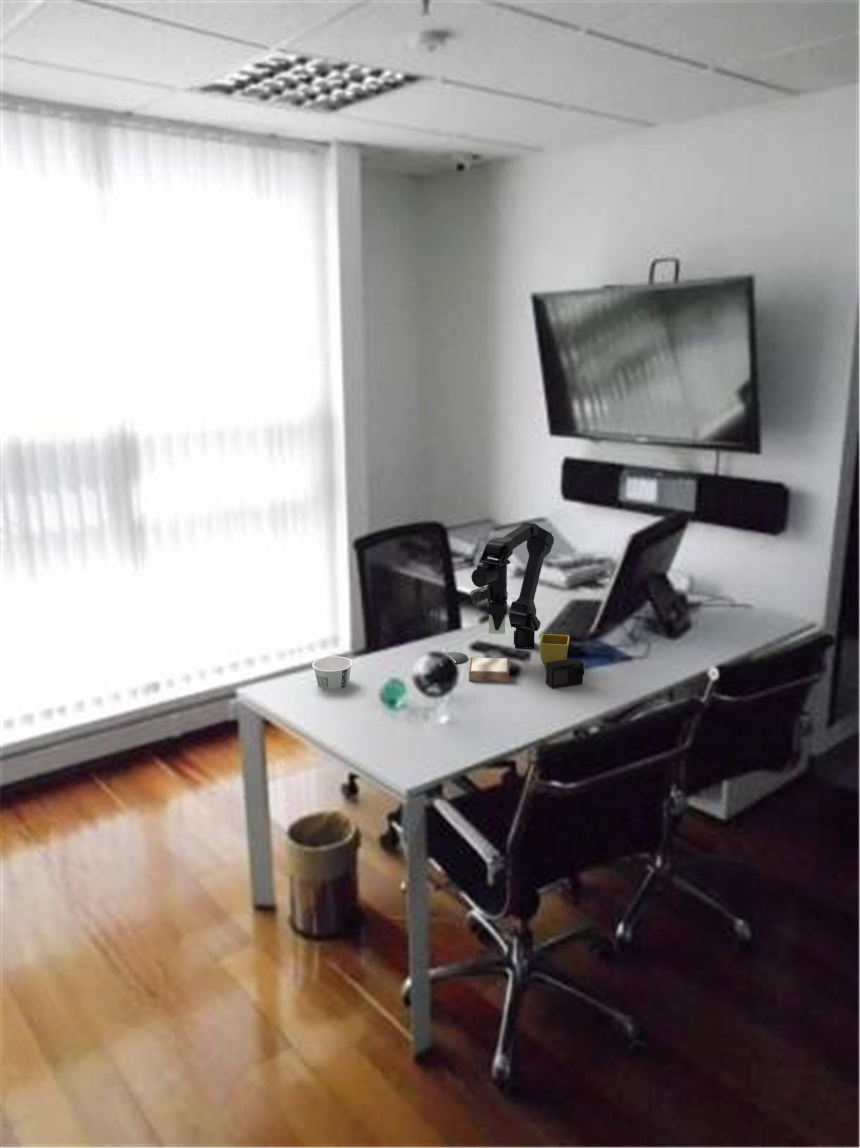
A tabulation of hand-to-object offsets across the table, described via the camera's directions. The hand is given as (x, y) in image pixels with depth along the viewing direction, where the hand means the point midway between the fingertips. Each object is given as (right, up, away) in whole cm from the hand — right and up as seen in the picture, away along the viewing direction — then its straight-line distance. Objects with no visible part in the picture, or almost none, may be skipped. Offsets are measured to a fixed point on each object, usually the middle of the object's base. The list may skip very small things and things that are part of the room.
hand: (497, 627), depth 279 cm
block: (0, -1, 0) cm, 1 cm away
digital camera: (+19, -16, -17) cm, 30 cm away
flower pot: (+18, -12, -2) cm, 22 cm away
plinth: (-3, -14, -8) cm, 16 cm away
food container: (-50, -16, -14) cm, 55 cm away
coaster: (-14, -10, +4) cm, 18 cm away
